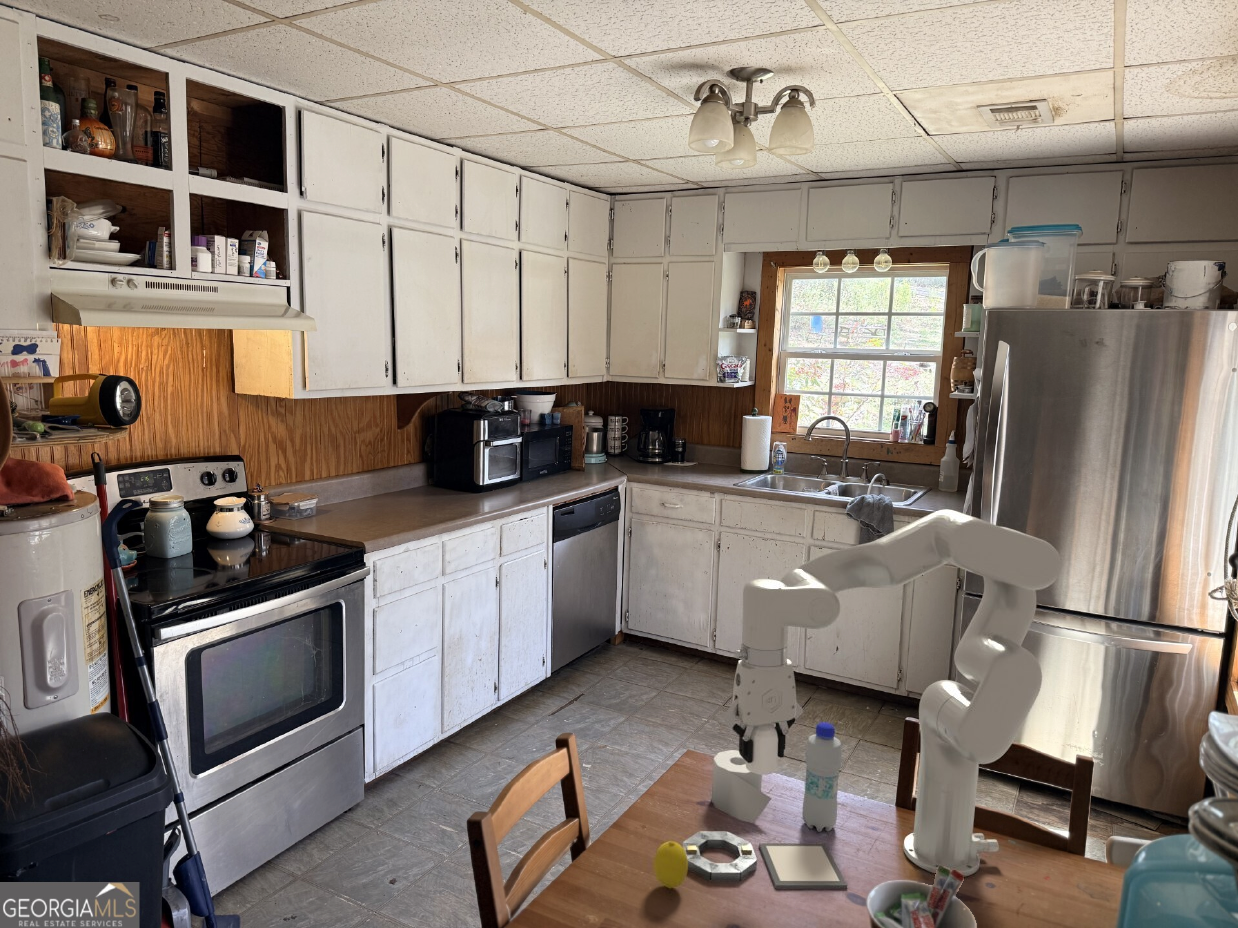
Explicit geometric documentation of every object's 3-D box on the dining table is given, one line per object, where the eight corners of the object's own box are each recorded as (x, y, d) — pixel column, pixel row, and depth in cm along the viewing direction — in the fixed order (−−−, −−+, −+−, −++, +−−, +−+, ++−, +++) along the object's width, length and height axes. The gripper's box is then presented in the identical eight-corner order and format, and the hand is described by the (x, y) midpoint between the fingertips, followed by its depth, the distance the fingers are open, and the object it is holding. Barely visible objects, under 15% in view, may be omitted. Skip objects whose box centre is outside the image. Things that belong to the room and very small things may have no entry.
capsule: (759, 777, 136) (760, 731, 135) (739, 763, 141) (740, 719, 140) (783, 769, 139) (785, 724, 138) (763, 756, 144) (764, 713, 143)
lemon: (676, 902, 130) (679, 855, 129) (646, 889, 133) (648, 843, 132) (692, 884, 135) (694, 839, 134) (663, 873, 138) (665, 828, 137)
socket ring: (746, 839, 149) (746, 828, 148) (761, 881, 137) (762, 868, 136) (679, 839, 148) (679, 827, 148) (688, 881, 136) (689, 868, 136)
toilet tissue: (758, 828, 152) (760, 785, 151) (702, 800, 162) (704, 759, 161) (785, 811, 159) (788, 769, 158) (730, 785, 168) (732, 745, 167)
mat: (824, 846, 147) (825, 842, 147) (847, 888, 136) (847, 884, 135) (759, 846, 147) (759, 842, 147) (775, 888, 135) (775, 884, 135)
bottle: (838, 837, 151) (845, 733, 148) (800, 832, 152) (807, 728, 150) (836, 818, 157) (843, 718, 155) (800, 813, 158) (806, 713, 156)
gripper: (727, 667, 131) (726, 774, 134) (821, 655, 137) (817, 759, 139) (708, 651, 138) (706, 754, 141) (797, 641, 144) (794, 740, 146)
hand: (762, 755), depth 140 cm, fingers closed on capsule, 5 cm apart
